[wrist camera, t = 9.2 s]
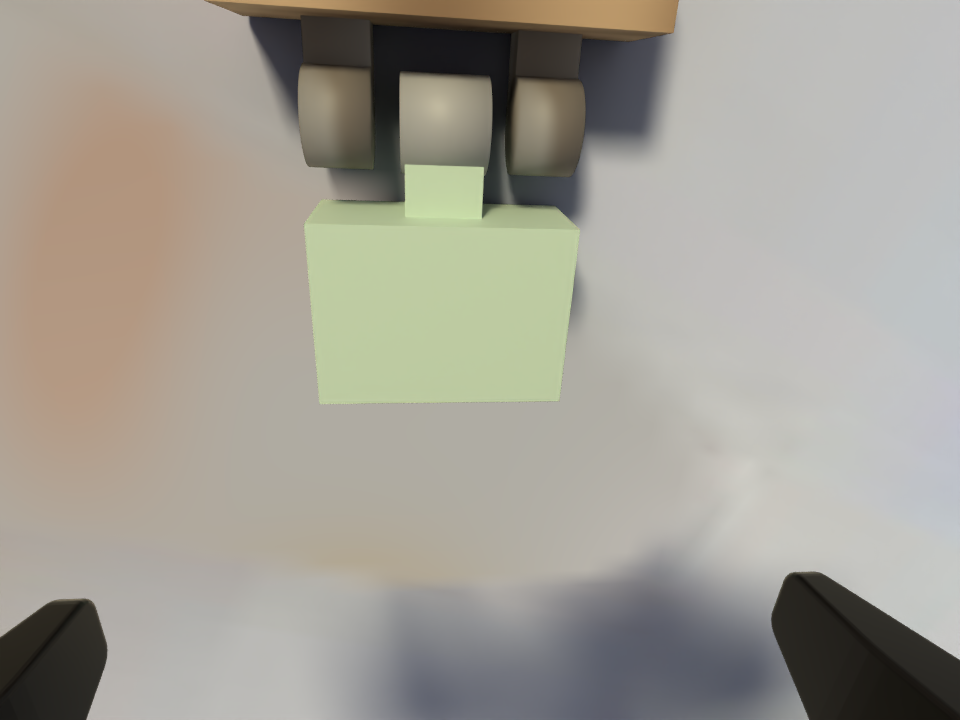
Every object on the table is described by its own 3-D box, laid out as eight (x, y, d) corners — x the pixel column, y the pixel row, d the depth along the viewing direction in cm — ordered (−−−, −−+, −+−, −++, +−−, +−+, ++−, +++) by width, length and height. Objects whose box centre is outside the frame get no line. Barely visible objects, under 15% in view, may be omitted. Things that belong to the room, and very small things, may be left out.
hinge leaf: (567, 79, 16) (598, 80, 13) (539, 356, 20) (559, 401, 17) (311, 66, 15) (289, 65, 13) (333, 357, 19) (319, 403, 16)
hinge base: (648, -97, 14) (701, -138, 12) (610, 172, 17) (646, 189, 14) (226, -136, 13) (179, -193, 11) (257, 158, 16) (226, 173, 13)
